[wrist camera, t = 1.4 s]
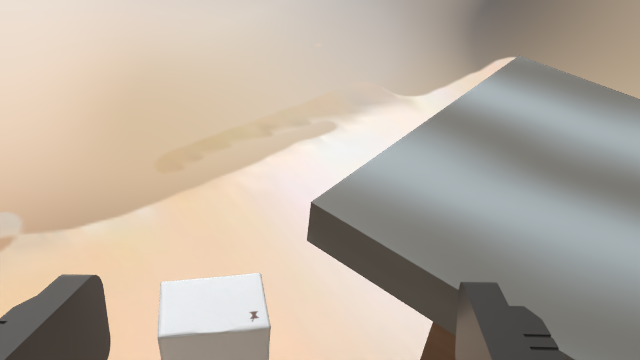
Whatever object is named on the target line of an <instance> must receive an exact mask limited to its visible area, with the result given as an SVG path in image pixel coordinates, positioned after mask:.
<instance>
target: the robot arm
mask: <svg viewBox="0 0 640 360" xmlns="http://www.w3.org/2000/svg"><path fill="white" fill-rule="evenodd" d="M109 351H110V332H109V324H108V317H107V310H106V303H105V296H104V289H103V284H102V281H101V279H100V277H99V276H97V275H61V276H59V277H58V278H57V279H56V280H55V281H53V282H52V283H51V284H50V285H49V286H48V287H46V288H45V289H44V290H43V291H42V292H41V293H40V294H38V295H37V296H35V297H33V298H31V299H29V300H27V301H25V302H23V303H21V304H19V305H17V306H15V307H13V308H12V309H11V310H10V311H8V312H7V313H6V314H5V315H4V316H2V317H1V318H0V360H107V359H108V356H109ZM455 359H456V360H566V359H565V357H564V356H563V354H562V352H561V351H559V347H558V345H557V344H556V342H555V340H554V339H553V338H551V334H550V332H549V330H548V329H547V327H546V325H545V323H544V322H543V320H542V319H541V318H540V317H538V316H537V315H535V314H534V313H533V312H531V311H530V310H529V309H527V308H526V307H525V306H509V305H508V303H507V301H506V299H505V297H504V295H503V293H502V291H501V289H500V287H499V285H498V283H497V282H461V283H460V286H459V293H458V310H457V328H456V345H455Z"/></svg>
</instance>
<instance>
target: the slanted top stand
mask: <svg viewBox="0 0 640 360" xmlns="http://www.w3.org/2000/svg"><path fill="white" fill-rule="evenodd" d="M307 241H308V242H310V243H312V244H313V245H315V246H316V247H318V248H319V249H321V250H322V251H324V252H326V253H327V254H329V255H330V256H332V257H333V258H335V259H336V260H338V261H340V262H341V263H343V264H344V265H346V266H347V267H349V268H351V269H352V270H354V271H355V272H357V273H358V274H360V275H361V276H363V277H365V278H366V279H368V280H369V281H371V282H372V283H374V284H376V285H377V286H379V287H380V288H382V289H383V290H385V291H386V292H388V293H390V294H391V295H393V296H394V297H396V298H397V299H399V300H400V301H402V302H404V303H405V304H407V305H408V306H410V307H411V308H413V309H415V310H416V311H418V312H419V313H421V314H422V315H424V316H425V317H427V318H429V319H430V320H432V321H433V324H432V327H431V329H430V332H429V335H428V338H427V341H426V344H425V347H424V350H423V353H422V356H421V359H420V360H456V359H455V345H456V328H457V310H458V293H459V286H460V283H461V282H497V283H498V285H499V287H500V289H501V291H502V293H503V295H504V297H505V299H506V301H507V303H508V305H509V306H525V307H526V308H527V309H529V310H530V311H531V312H533V313H534V314H535V315H537V316H538V317H540V318H541V319H542V320H543V322H544V323H545V325H546V327H547V329H548V330H549V332H550V334H551V338H553V339H554V340H555V342H556V344H557V345H558V347H559V351H561V352H562V354H563V356H564V357H565V359H566V360H640V99H638V98H635V97H632V96H629V95H627V94H624V93H621V92H618V91H616V90H613V89H610V88H607V87H605V86H602V85H599V84H596V83H594V82H591V81H588V80H585V79H582V78H580V77H577V76H574V75H571V74H569V73H566V72H563V71H560V70H558V69H555V68H552V67H549V66H547V65H544V64H541V63H538V62H535V61H533V60H530V59H527V58H524V57H522V56H518V57H517V58H515V59H514V60H512V61H511V62H510V63H508V64H507V65H505V66H504V67H502V68H501V69H500V70H498V71H497V72H495V73H494V74H492V75H491V76H490V77H488V78H487V79H485V80H484V81H483V82H481V83H480V84H478V85H477V86H475V87H474V88H473V89H471V90H470V91H468V92H467V93H465V94H464V95H463V96H461V97H460V98H458V99H457V100H456V101H454V102H453V103H451V104H450V105H448V106H447V107H446V108H444V109H443V110H441V111H440V112H438V113H437V114H436V115H434V116H433V117H431V118H430V119H429V120H427V121H426V122H424V123H423V124H421V125H420V126H419V127H417V128H416V129H414V130H413V131H411V132H410V133H409V134H407V135H406V136H404V137H403V138H402V139H400V140H399V141H397V142H396V143H394V144H393V145H392V146H390V147H389V148H387V149H386V150H384V151H383V152H382V153H380V154H379V155H377V156H376V157H375V158H373V159H372V160H370V161H369V162H367V163H366V164H365V165H363V166H362V167H360V168H359V169H357V170H356V171H355V172H353V173H352V174H350V175H349V176H348V177H346V178H345V179H343V180H342V181H340V182H339V183H338V184H336V185H335V186H333V187H332V188H331V189H329V190H328V191H326V192H325V193H323V194H322V195H321V196H319V197H318V198H316V199H315V200H313V201H312V202H311V208H310V217H309V226H308V235H307Z"/></svg>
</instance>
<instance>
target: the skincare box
mask: <svg viewBox="0 0 640 360" xmlns="http://www.w3.org/2000/svg"><path fill="white" fill-rule="evenodd" d="M270 329H271V326H270V321H269V316H268V310H267V305H266V299H265V294H264V288H263V283H262V277H261V274H260V273H253V274H244V275H233V276H223V277H211V278H201V279H190V280H179V281H167V282H161V285H160V300H159V318H158V343H159V349H160V355H161V360H269V341H270Z"/></svg>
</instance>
